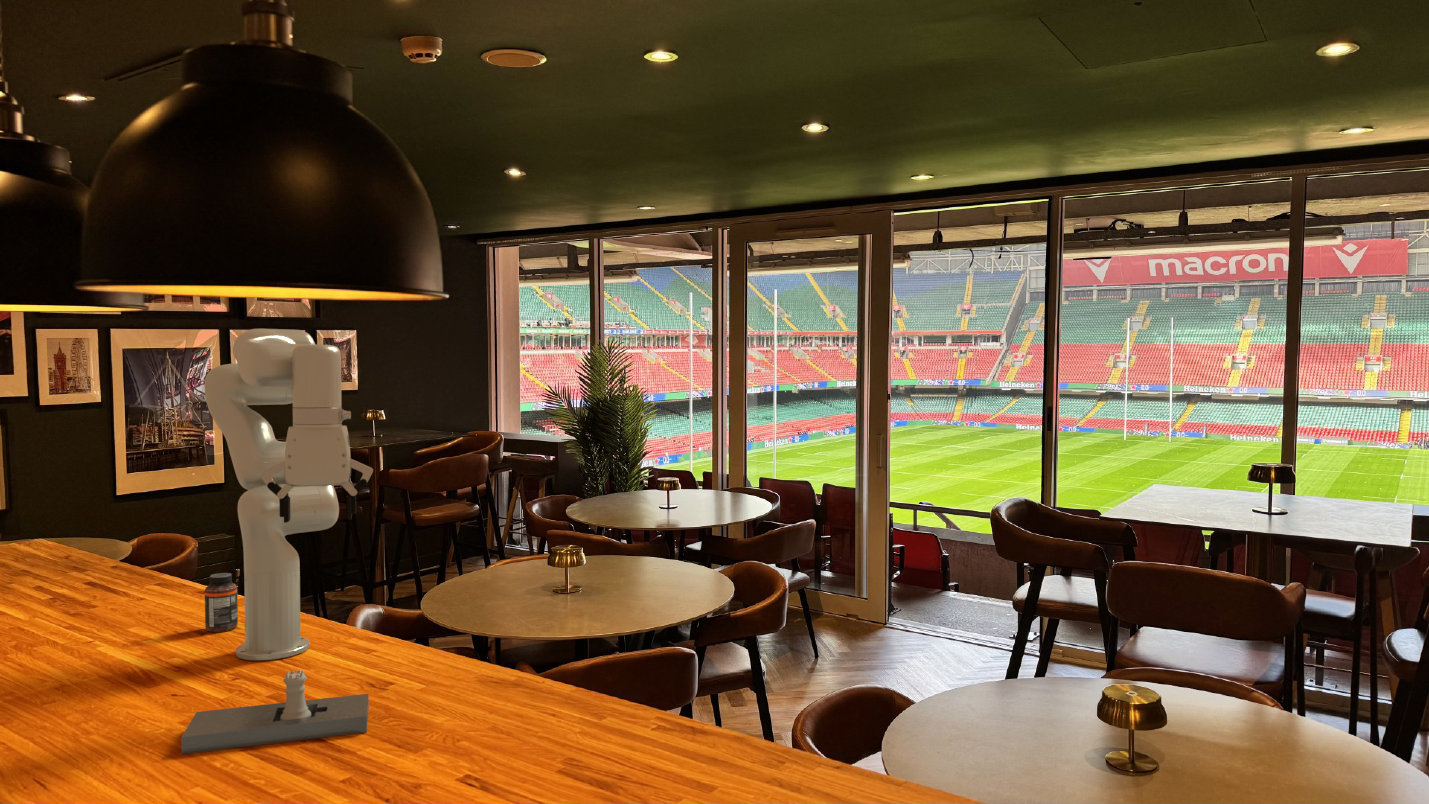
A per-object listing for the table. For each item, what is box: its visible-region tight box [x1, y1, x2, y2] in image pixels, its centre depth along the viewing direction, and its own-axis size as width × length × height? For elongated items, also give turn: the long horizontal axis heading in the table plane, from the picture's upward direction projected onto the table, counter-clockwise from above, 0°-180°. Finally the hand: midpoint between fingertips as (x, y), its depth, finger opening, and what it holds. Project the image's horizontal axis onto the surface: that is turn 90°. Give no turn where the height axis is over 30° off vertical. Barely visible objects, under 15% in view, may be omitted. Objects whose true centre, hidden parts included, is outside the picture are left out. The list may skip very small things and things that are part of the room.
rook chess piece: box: [280, 669, 311, 721], centre depth 135 cm, size 4×4×8 cm
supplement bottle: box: [204, 572, 239, 633], centre depth 188 cm, size 6×6×11 cm
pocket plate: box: [180, 693, 370, 755], centre depth 135 cm, size 10×24×2 cm, turn 109°
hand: (318, 519), depth 153 cm, fingers open, 9 cm apart
